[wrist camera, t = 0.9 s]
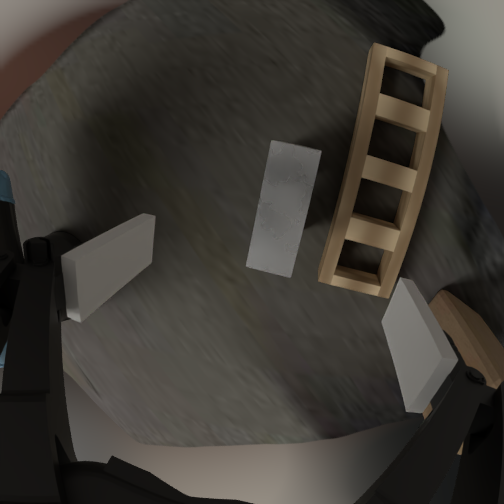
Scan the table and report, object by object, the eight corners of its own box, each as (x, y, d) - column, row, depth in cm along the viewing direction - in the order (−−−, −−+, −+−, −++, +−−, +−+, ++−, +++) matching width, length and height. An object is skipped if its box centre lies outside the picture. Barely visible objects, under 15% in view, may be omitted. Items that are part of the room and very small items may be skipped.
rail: (318, 269, 39) (318, 281, 36) (368, 51, 29) (373, 42, 25) (383, 286, 38) (388, 298, 35) (437, 75, 28) (448, 70, 24)
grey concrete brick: (266, 229, 39) (245, 266, 27) (284, 141, 34) (271, 139, 23) (297, 237, 38) (290, 277, 27) (318, 148, 34) (321, 151, 23)
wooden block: (396, 338, 40) (427, 449, 22) (440, 284, 36) (505, 382, 18) (439, 362, 40) (475, 462, 22) (480, 314, 36) (540, 405, 18)
